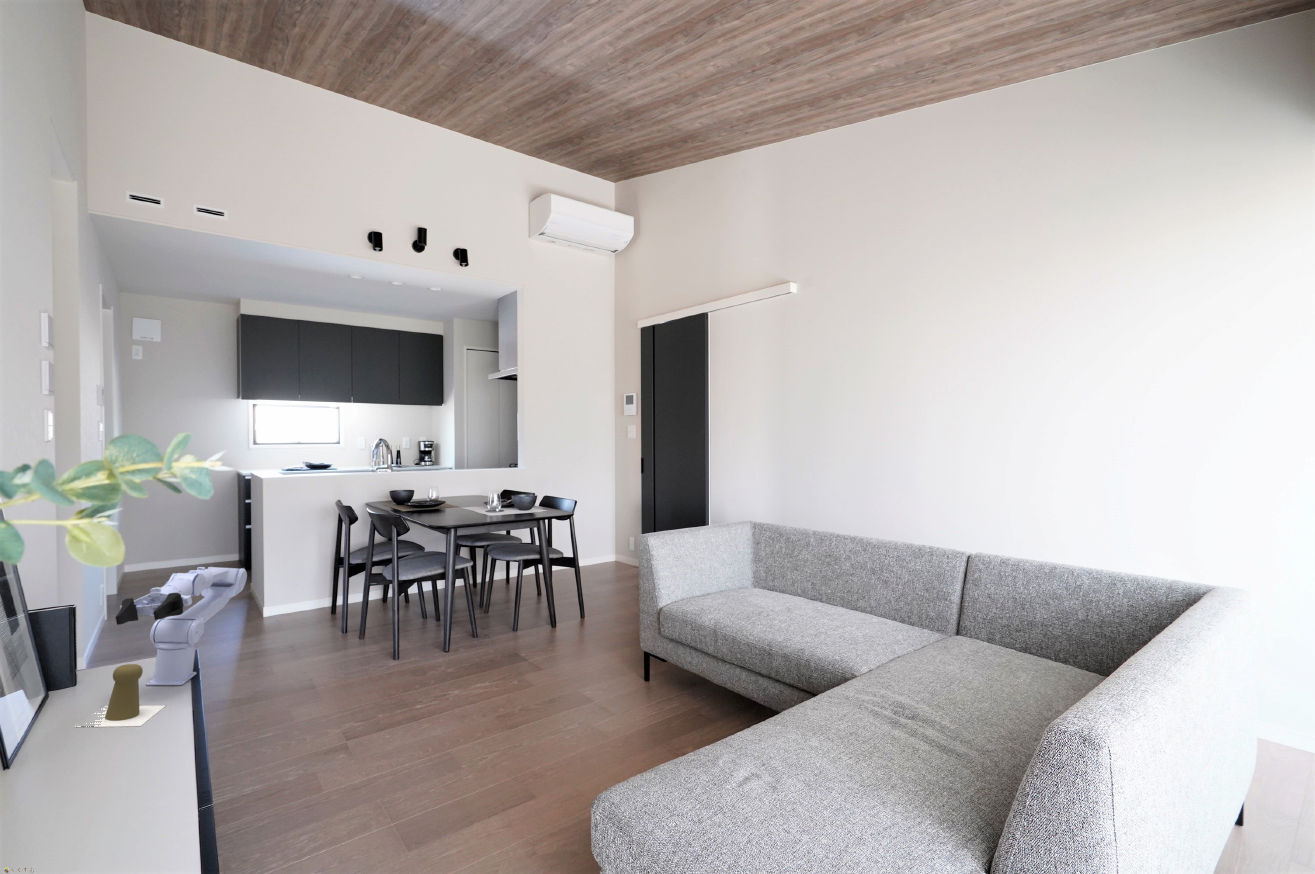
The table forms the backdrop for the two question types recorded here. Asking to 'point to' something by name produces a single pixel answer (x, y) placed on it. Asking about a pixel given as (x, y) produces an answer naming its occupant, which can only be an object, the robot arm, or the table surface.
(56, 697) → the table surface
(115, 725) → the card
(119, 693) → the olive knobbed shaker
